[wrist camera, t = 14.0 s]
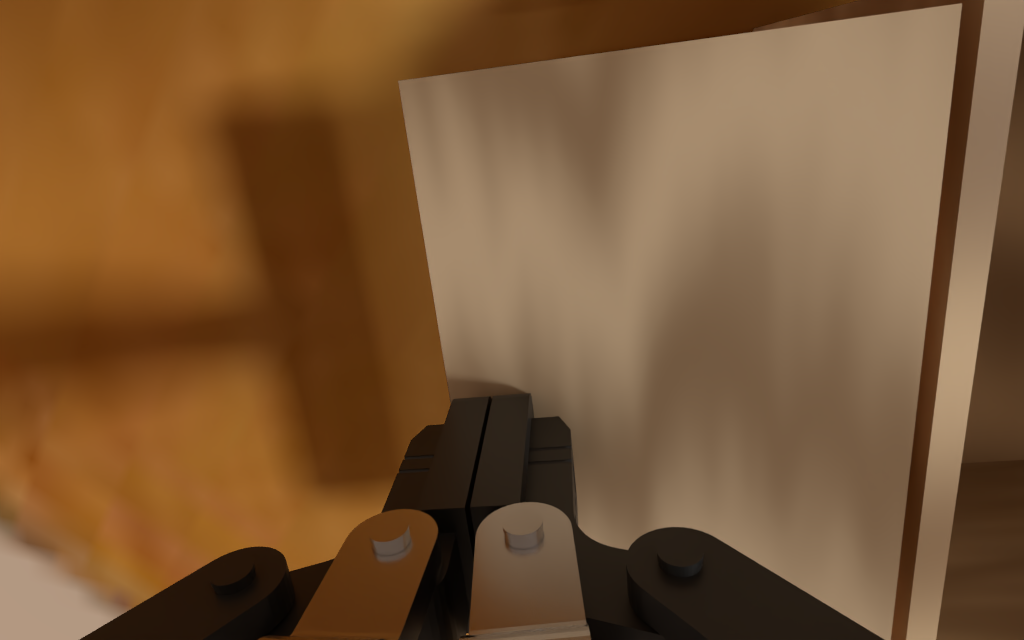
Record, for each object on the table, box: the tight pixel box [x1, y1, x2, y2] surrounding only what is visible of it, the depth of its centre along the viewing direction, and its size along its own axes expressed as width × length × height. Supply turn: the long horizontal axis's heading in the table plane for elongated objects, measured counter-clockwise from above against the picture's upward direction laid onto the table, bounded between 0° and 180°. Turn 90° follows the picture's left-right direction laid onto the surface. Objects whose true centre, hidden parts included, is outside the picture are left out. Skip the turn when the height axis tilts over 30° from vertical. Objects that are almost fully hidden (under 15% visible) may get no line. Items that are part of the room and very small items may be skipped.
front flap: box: [398, 3, 962, 640], centre depth 12 cm, size 13×1×8 cm
